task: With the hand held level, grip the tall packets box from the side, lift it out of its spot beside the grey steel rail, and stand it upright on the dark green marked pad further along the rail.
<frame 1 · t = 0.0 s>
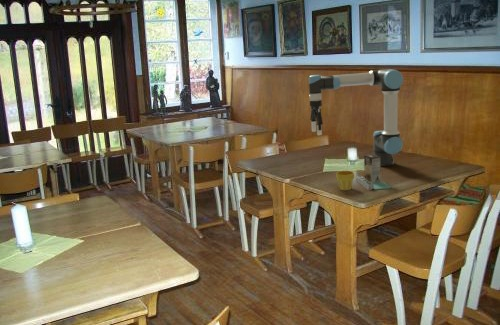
hand: (316, 133, 321), 28 cm above the table, tool pointing down, fingers open, 13 cm apart
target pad: (379, 186, 296), on the table
coffee box: (372, 181, 307), on the table
plant pot: (345, 189, 296), on the table
steel rail: (364, 185, 300), on the table
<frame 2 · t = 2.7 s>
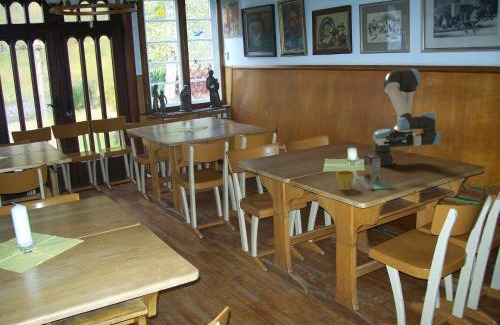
hand: (376, 142, 306), 23 cm above the table, tool horizontal, fingers open, 13 cm apart
nothing on the table moved.
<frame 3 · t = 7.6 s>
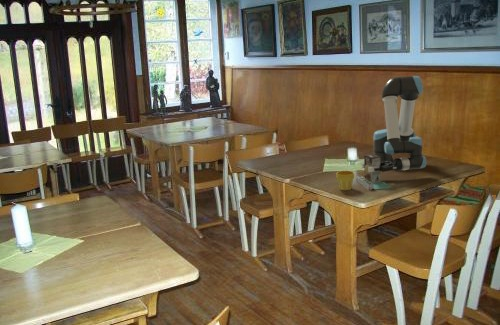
hand: (365, 167, 304), 9 cm above the table, tool horizontal, fingers closed on coffee box, 10 cm apart
coffee box: (372, 181, 307), on the table, touching gripper
everything else where it was.
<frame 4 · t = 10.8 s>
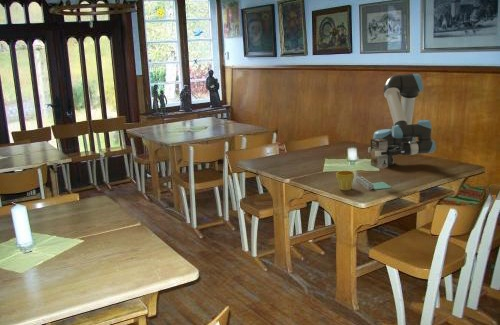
hand: (371, 152, 291), 21 cm above the table, tool horizontal, fingers closed on coffee box, 10 cm apart
coffee box: (379, 166, 294), point 12 cm above the table, touching gripper
everything else where it was.
when the fingers open (10 cm above the table, at t = 13.8 s): coffee box stays where it is, resting on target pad.
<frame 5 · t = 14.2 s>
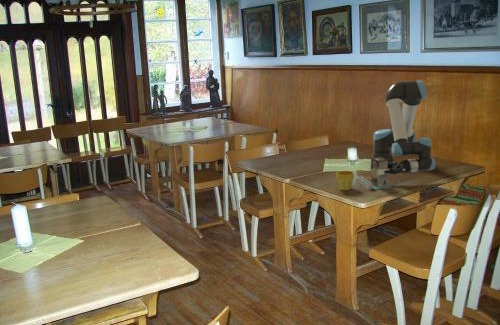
hand: (373, 169, 293), 10 cm above the table, tool horizontal, fingers open, 13 cm apart
coffee box: (379, 185, 296), resting on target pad
everything else where it was.
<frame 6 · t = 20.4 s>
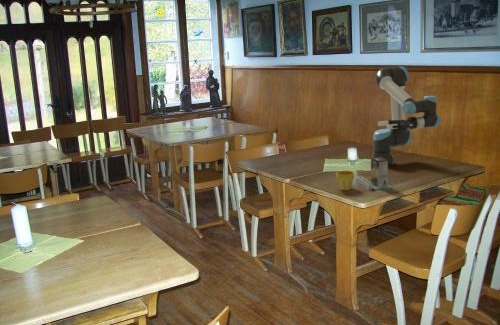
hand: (382, 125, 310), 32 cm above the table, tool horizontal, fingers open, 13 cm apart
nothing on the table moved.
at the end: coffee box inside the target area on the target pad (0.1 cm from its centre), point 0.3 cm above the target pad's base; coffee box tilted 0°; the gripper is holding nothing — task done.
